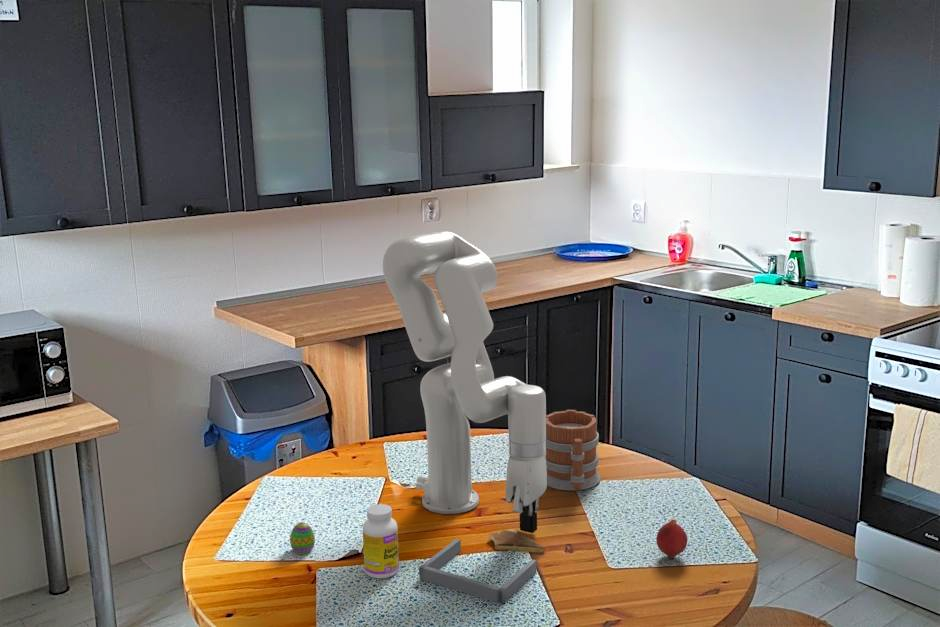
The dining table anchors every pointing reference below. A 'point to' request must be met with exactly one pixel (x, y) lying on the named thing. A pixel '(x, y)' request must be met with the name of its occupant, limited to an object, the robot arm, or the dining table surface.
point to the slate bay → (470, 586)
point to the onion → (671, 539)
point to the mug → (571, 450)
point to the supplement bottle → (380, 542)
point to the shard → (514, 541)
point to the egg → (302, 538)
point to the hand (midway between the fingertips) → (528, 530)
